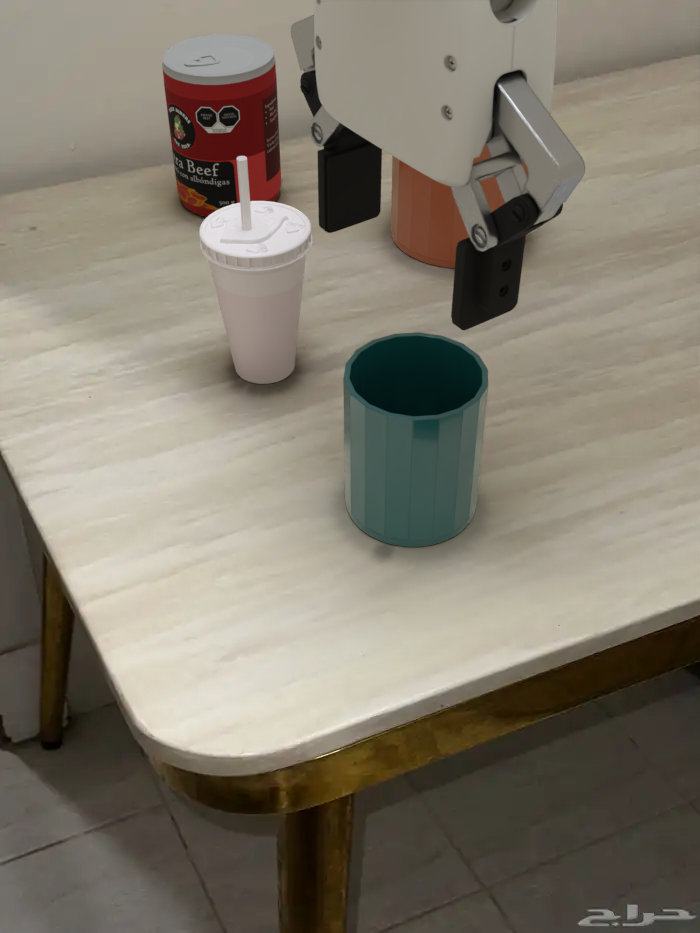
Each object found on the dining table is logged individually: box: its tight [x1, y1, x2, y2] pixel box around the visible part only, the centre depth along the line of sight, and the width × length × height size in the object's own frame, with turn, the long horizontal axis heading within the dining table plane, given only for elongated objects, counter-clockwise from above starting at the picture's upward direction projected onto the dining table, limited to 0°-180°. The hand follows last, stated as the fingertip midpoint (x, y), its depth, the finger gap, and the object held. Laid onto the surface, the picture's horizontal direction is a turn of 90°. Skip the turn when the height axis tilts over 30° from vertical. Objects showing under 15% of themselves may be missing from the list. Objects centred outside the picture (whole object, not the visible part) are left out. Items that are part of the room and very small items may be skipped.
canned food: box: [161, 33, 282, 218], centre depth 81 cm, size 8×8×11 cm
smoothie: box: [198, 156, 313, 385], centre depth 64 cm, size 6×6×14 cm
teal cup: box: [342, 331, 489, 548], centre depth 57 cm, size 7×7×8 cm
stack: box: [390, 145, 529, 269], centre depth 77 cm, size 10×10×10 cm
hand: (413, 267), depth 50 cm, fingers open, 9 cm apart
